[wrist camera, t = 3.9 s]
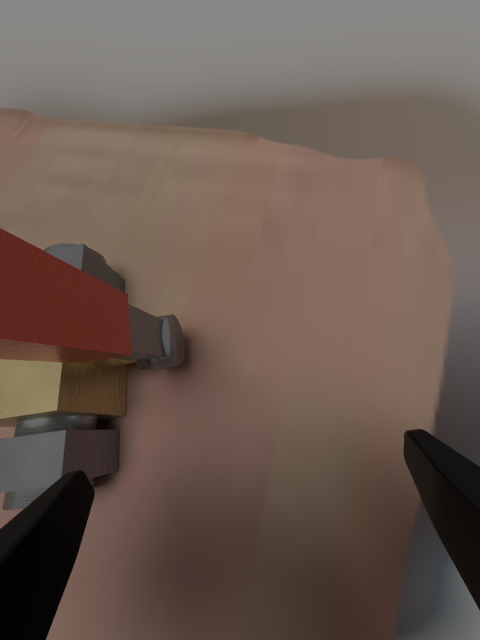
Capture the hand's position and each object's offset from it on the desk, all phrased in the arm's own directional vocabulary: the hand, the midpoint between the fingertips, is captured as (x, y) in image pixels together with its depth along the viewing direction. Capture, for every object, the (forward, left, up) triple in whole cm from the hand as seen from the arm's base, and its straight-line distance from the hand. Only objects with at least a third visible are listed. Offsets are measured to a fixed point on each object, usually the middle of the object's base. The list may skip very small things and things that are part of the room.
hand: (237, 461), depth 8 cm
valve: (+11, +6, -10) cm, 15 cm away
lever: (+8, +1, -8) cm, 12 cm away
